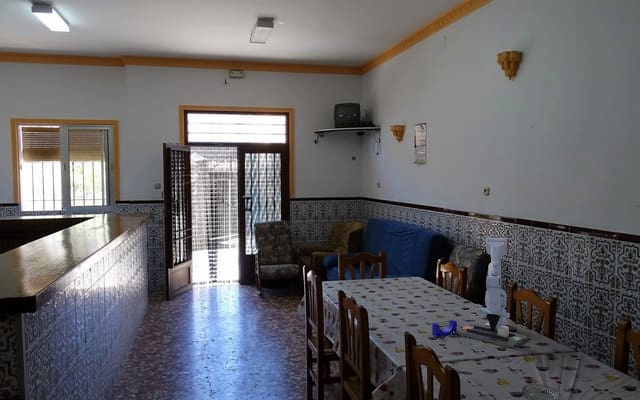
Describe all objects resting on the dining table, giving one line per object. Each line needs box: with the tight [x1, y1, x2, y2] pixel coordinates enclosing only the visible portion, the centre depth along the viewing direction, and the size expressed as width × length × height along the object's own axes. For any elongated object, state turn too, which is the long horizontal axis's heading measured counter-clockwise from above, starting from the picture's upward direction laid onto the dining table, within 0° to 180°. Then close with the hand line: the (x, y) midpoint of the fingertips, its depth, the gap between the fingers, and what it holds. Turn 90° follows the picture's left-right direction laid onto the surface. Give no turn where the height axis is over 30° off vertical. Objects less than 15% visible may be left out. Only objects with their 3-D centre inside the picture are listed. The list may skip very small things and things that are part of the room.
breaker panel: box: [454, 323, 529, 349], centre depth 233 cm, size 16×28×2 cm, turn 46°
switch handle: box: [497, 325, 510, 337], centre depth 228 cm, size 5×3×4 cm, turn 136°
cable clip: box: [431, 319, 458, 338], centre depth 238 cm, size 12×4×6 cm, turn 114°
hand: (493, 330), depth 232 cm, fingers closed
